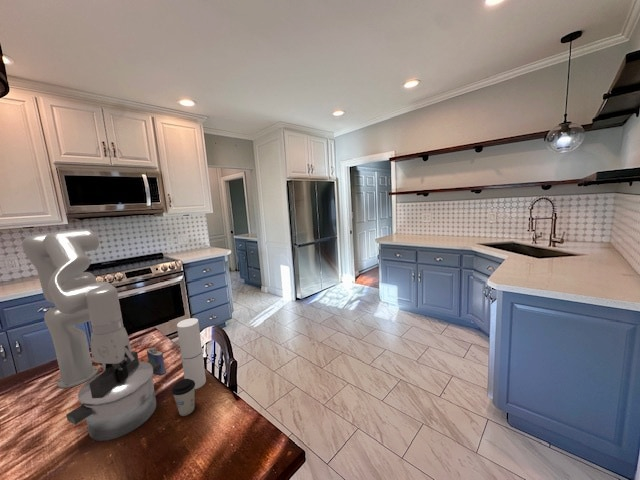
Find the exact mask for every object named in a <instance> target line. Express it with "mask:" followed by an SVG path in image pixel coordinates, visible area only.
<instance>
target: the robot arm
mask: <svg viewBox="0 0 640 480" xmlns="http://www.w3.org/2000/svg"><path fill="white" fill-rule="evenodd" d="M99 247H100V240H99V236H98V235H97V234H96V232H95V231H93V230H92V229H89V228H80V229H71V230H70V229H69V230H60V231H59V230H58V231H55V232H47V233H46V232H45V233H39V234H33V235H29V236H27V237H24V239H23V240H22V242H21V248H22V250H23V253H24V256H26V258H27V259H28V260H29V262H30V263H31V264H32V265H33V266H34V268H35V269H36V272H37V275H38V278H39V283H40V287H41V290H42V293H43V296H44V298H45V300H46V301H47V302H49V303H52V304H54V307H51V308H50V309H48V310H47V311H45V314H44V317H43V318H44V322H45V325H46V327H47V328H48V331H49V333H50V336H51V339H52V343H53V347H54V352H55V356H56V360H57V365H58V370H59V374H60V378H58V380H57V381H56V386H57V388H59V389H68V388H72V387H77V386H79V385H81V384H83V383H84V384H85V383H86V382H88V381H89V380H90V379H92V378H93V377H95V376H96V375H98V372H99V368H98V366H96V365H93V363H92V362H94V363H95V364H98V365H100V366H101V368H102V370H103V371H105V370H107V369H108V368H109V367H110V366H112V365H113V364H116V365H117V368H118V371H117V377H118V382H122V381H123V380H124V379H126V378H127V377H128V370H127V366H128V364H129V363H130V362H132V361H133V360H134V357H133V356H132V354H131V352H132V346H131V342H130V338H129V335H128V332H127V330H126V327H124V323H123V321H124V320H123V317H122V316H123V315H122V311H121V305H120V300H119V294H118V290H117V287H115V286H114V285H113V284H111V283H110V282H108V281H99V282H98V280H97V278H96V276H95V275H94V274H93V273H91V272H88V271H87V269H89V267H90V265H91V261H90V258H89V257H88V255H87V254H86V252H91V251H96V250H97V249H98V248H99ZM87 322H90V325H91V331H92V332H91V333H90V349H89V342H88V339H87V335H86V332H85V331H84V330H83V329H80V328H78V327H77V326H79V325H82V324H85V323H87ZM90 352H91V353H90ZM122 361H123V363H122V365H121V362H122Z"/></svg>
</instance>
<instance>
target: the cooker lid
mask: <svg viewBox="0 0 640 480" xmlns="http://www.w3.org/2000/svg"><path fill="white" fill-rule="evenodd" d="M131 354H132V356H133V357H134V360H133V361H132V362H130V363H129V364H128V366H127V370H128V377H127V378H126V379H124V380H123V381H122V382H118V377H117V371H118V368H117V365H116V364H113V365H112V366H110V367H109V368H108V369H107V370H103V371H102V372H100V373H97V374H96V375H95V376H94V377H92V378H91V379H89V380H88V381H86V382H84V384H83V385H82V386H81V388H80V389H79V391H78V394H77V398H78V401H79V403H80V404H81V405H86V406H98V405H104V404H108V403H111V402H114V401H117V400H120V399H122V398H124V397H126V396H128V395H130V394H132V393H134V392H135V391H137V390H138V389H140V388H141V387H143V386H144V385H145V384H146V383H147V382H148V381H149V380H150V378H151V377H152V378H153V375H154V374H153V367H152V365H151V364H150V363H149V361H140V360H139V355H138V351H131ZM122 363H123V361H122V362H121V365H122Z"/></svg>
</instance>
